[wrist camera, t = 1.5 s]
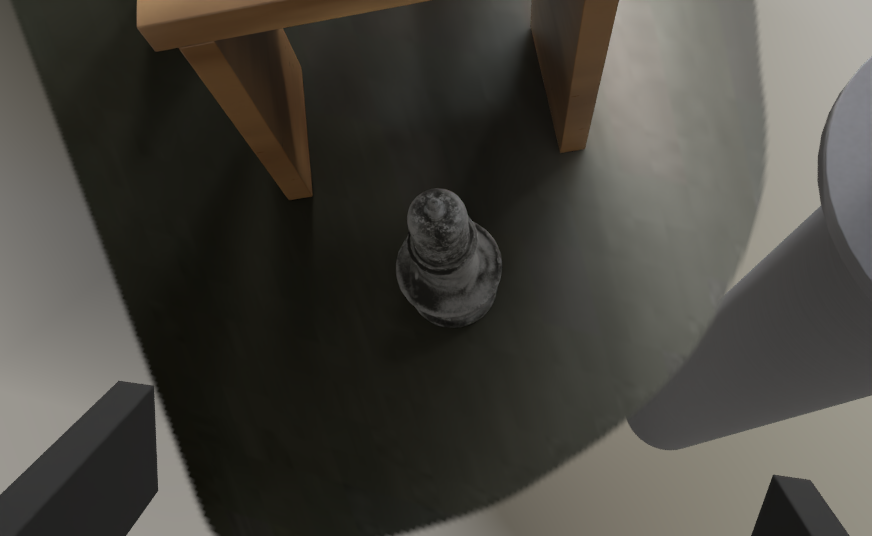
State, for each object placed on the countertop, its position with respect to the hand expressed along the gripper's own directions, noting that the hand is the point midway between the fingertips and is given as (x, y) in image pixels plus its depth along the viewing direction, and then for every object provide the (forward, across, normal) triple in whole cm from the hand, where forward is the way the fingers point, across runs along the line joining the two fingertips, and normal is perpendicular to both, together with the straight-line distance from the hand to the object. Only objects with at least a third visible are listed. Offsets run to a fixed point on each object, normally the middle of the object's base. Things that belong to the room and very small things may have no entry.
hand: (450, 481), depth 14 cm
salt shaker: (+25, -1, -6) cm, 26 cm away
